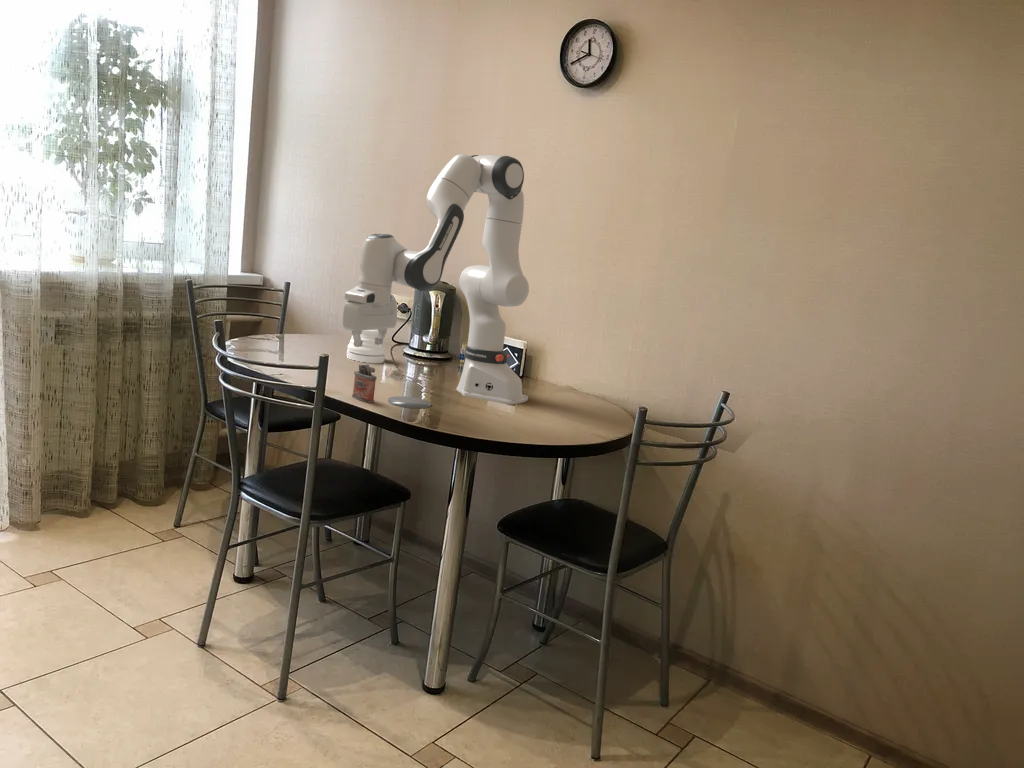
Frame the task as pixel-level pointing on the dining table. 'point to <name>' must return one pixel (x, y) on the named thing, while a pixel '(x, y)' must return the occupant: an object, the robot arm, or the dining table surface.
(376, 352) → the honey pot
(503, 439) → the dining table surface
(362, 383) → the lighter
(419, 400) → the coaster
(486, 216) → the robot arm
